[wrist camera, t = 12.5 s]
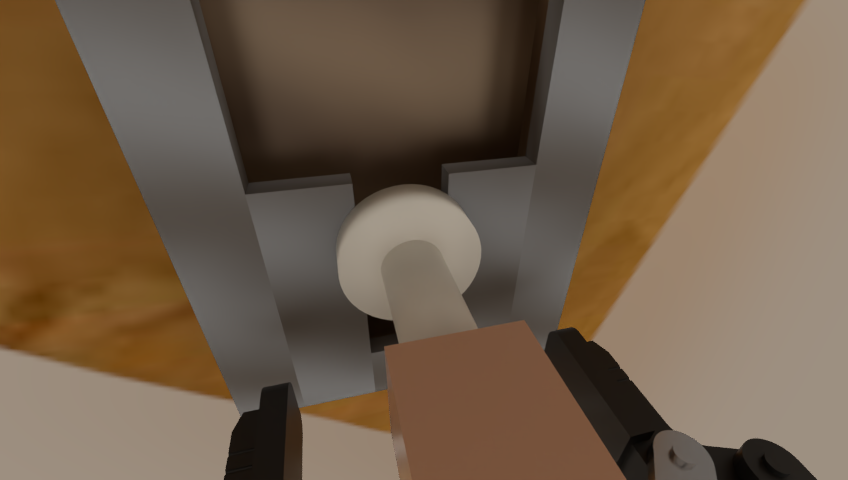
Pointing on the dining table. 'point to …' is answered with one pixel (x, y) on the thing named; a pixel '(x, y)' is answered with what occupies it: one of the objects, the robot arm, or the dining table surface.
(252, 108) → the keyhole plate
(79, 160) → the dining table surface
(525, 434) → the keyhole peg
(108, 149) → the dining table surface
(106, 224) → the dining table surface
